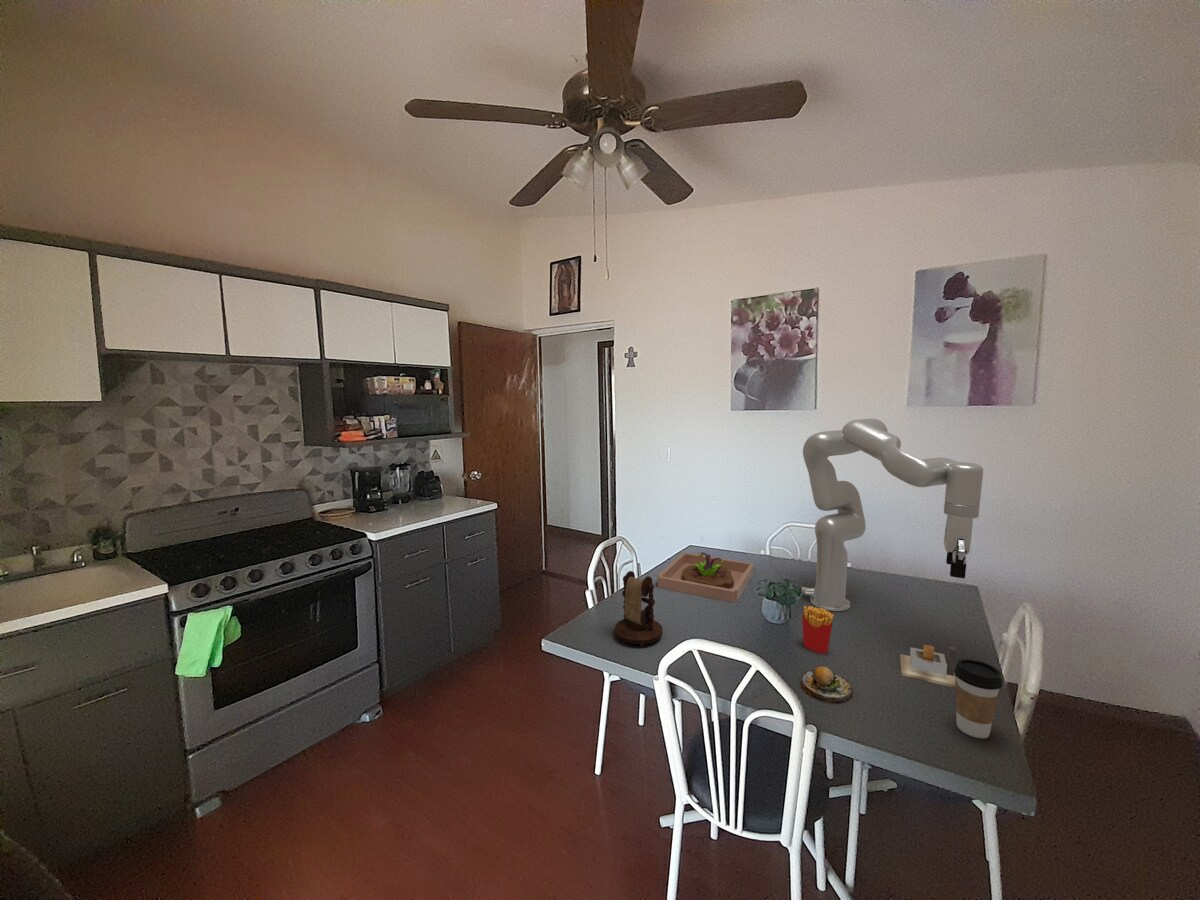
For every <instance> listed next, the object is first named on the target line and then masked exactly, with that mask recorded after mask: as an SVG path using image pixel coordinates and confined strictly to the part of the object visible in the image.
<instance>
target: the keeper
mask: <svg viewBox="0 0 1200 900" xmlns="http://www.w3.org/2000/svg"><path fill="white" fill-rule="evenodd" d="M956 649H957V648H956V647H955V646H950V645H949V646H948V652H947V661H946V664H947V672H946V679H943V678H939V677H935V676H930V675H926V674H921V673H917V672H913V671H911V666H910V655H907V654H902V653H901V654H900V653H899V659H900V671H901V672H900V673H901V674H900V675H901V676H903V677H906V678H911V679H916V680H920V681H925V682H928V683H931V684H935V685H941V686H945V687H949V688H955V689H956V686H955V680H956V675H955V673H954V670H955V667H956V665H955V664H956V656H957V650H956ZM922 650H923V659H925V660H930V661H933V660H934V652H935V647H934V646H933V645H930V644H924V645H923V648H922Z"/></svg>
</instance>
